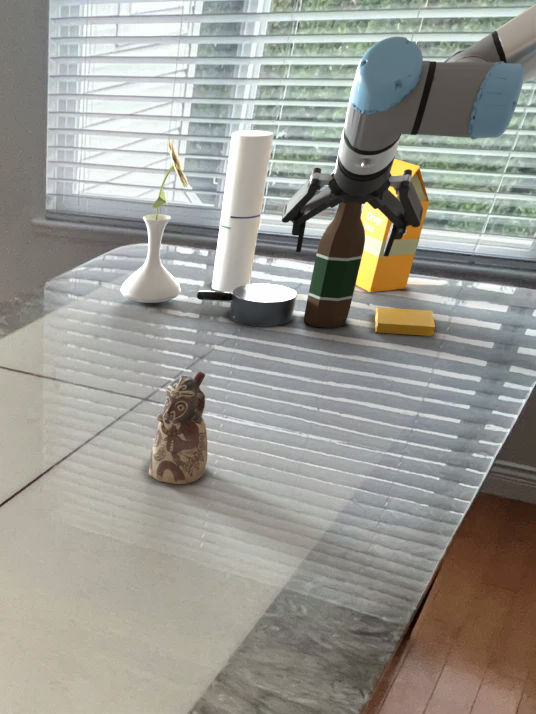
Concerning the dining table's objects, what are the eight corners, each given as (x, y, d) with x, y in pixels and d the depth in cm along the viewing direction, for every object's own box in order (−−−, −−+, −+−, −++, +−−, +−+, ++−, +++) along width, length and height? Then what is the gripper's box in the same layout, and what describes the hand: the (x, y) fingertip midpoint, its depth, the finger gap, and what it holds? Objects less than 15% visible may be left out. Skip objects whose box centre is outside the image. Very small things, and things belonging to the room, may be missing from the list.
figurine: (136, 467, 108) (145, 372, 100) (180, 454, 111) (192, 360, 103) (171, 489, 104) (183, 391, 95) (216, 475, 106) (231, 378, 98)
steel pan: (293, 309, 153) (298, 285, 151) (290, 328, 146) (294, 303, 143) (198, 303, 158) (201, 280, 155) (190, 322, 150) (193, 297, 147)
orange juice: (381, 276, 167) (411, 156, 154) (406, 288, 161) (440, 164, 147) (345, 279, 166) (372, 159, 153) (369, 292, 160) (400, 168, 146)
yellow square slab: (429, 319, 147) (432, 310, 146) (432, 336, 141) (435, 326, 140) (375, 316, 149) (377, 307, 148) (375, 332, 143) (377, 323, 142)
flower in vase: (165, 311, 155) (181, 149, 138) (109, 303, 159) (118, 145, 143) (192, 292, 163) (210, 137, 146) (138, 285, 167) (150, 134, 151)
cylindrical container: (242, 294, 161) (266, 137, 144) (206, 289, 164) (226, 135, 147) (253, 284, 166) (278, 131, 149) (218, 280, 168) (239, 129, 152)
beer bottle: (356, 320, 148) (395, 158, 132) (334, 331, 144) (372, 166, 128) (315, 311, 152) (348, 154, 136) (293, 322, 148) (324, 161, 132)
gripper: (269, 176, 120) (260, 264, 140) (459, 180, 113) (420, 272, 134) (279, 125, 120) (268, 220, 140) (470, 127, 113) (429, 227, 134)
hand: (343, 246), depth 137 cm, fingers open, 13 cm apart
